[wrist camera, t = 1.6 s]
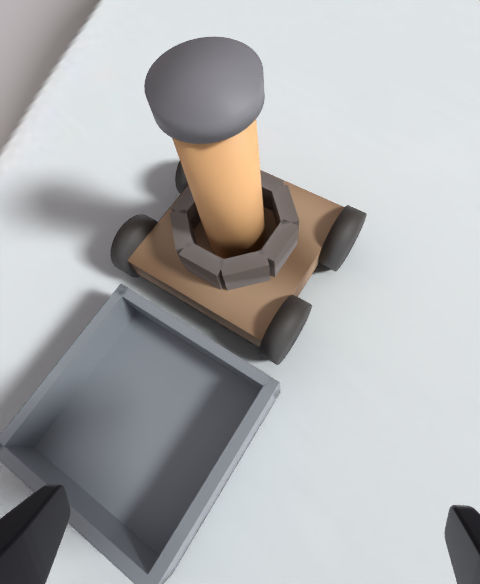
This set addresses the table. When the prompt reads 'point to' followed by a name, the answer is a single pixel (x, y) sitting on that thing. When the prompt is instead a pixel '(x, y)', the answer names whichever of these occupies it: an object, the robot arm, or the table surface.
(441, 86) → the table surface
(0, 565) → the robot arm
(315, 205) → the trolley
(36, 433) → the tray
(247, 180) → the pin
